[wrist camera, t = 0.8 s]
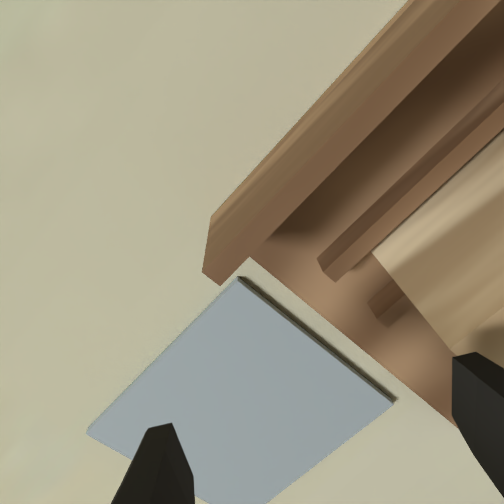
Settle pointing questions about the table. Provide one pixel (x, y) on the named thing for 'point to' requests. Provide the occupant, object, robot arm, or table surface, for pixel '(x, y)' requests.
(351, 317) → the walnut rack
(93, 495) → the table surface
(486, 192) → the plywood sheet
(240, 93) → the table surface
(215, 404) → the slate mat
